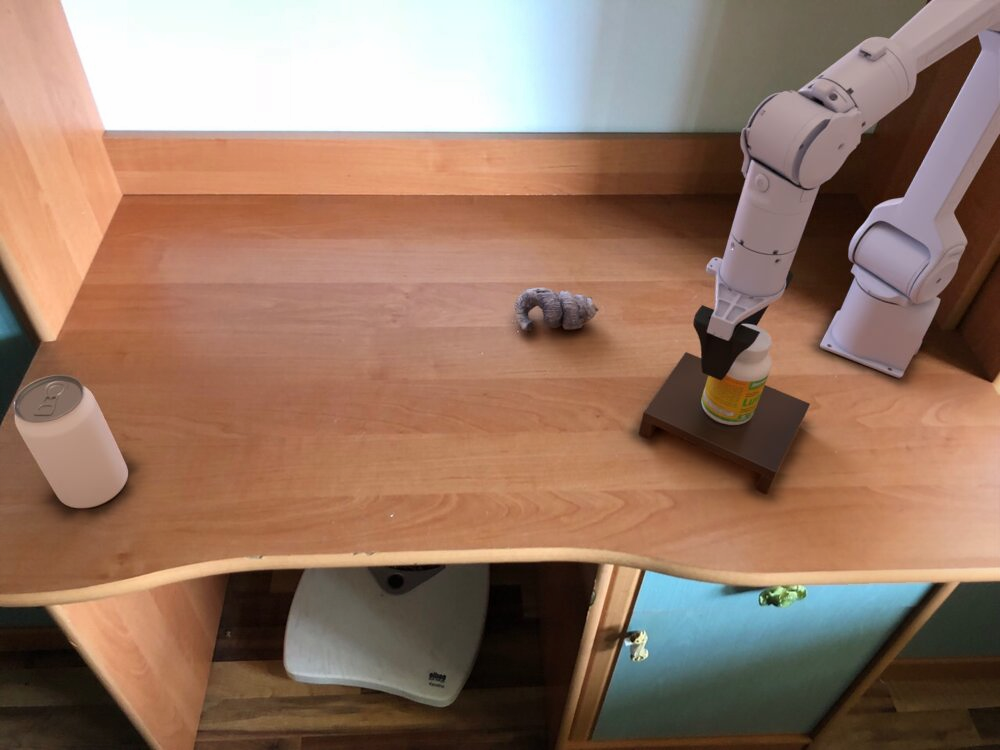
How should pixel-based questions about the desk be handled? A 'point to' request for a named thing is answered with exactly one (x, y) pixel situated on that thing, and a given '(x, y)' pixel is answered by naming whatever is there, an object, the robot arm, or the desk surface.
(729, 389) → the supplement bottle
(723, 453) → the shelf
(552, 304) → the seashell
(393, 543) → the desk surface
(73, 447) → the can
